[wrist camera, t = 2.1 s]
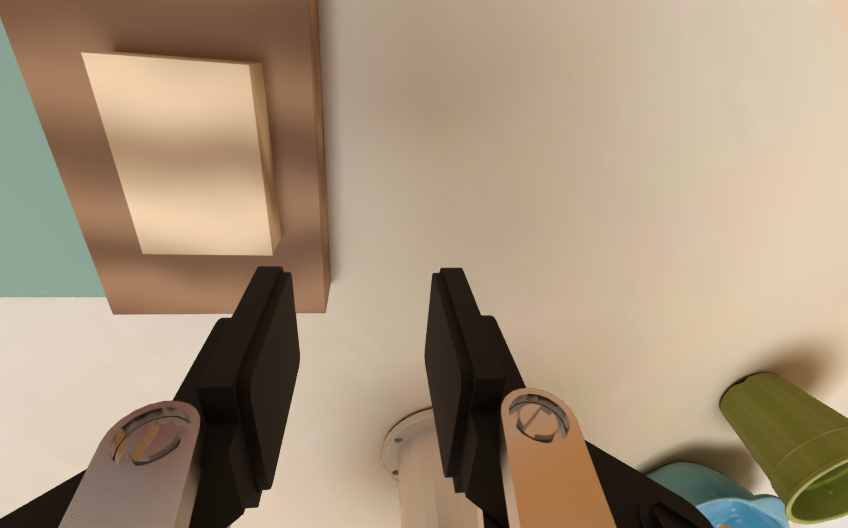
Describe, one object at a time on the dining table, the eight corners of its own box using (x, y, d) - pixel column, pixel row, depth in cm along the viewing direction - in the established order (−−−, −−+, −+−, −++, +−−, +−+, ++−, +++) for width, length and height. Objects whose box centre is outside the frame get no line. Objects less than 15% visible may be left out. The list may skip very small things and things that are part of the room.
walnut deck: (330, 283, 32) (325, 313, 28) (143, 283, 30) (113, 314, 26) (314, -61, 21) (303, -82, 18) (22, -96, 19) (-55, -127, 16)
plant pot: (698, 439, 49) (780, 538, 39) (699, 377, 43) (795, 475, 33) (793, 408, 48) (901, 501, 38) (807, 341, 42) (939, 430, 32)
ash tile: (281, 237, 25) (272, 255, 23) (163, 235, 24) (142, 254, 22) (261, 62, 20) (248, 65, 18) (113, 51, 19) (81, 52, 17)
